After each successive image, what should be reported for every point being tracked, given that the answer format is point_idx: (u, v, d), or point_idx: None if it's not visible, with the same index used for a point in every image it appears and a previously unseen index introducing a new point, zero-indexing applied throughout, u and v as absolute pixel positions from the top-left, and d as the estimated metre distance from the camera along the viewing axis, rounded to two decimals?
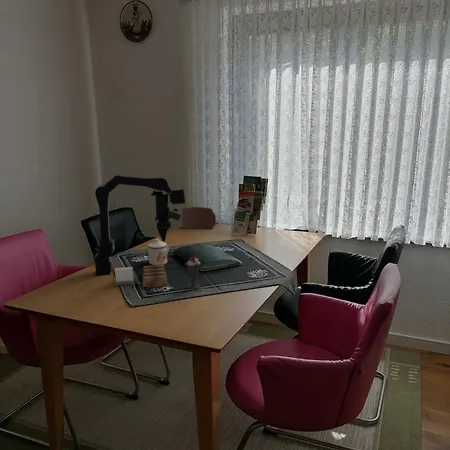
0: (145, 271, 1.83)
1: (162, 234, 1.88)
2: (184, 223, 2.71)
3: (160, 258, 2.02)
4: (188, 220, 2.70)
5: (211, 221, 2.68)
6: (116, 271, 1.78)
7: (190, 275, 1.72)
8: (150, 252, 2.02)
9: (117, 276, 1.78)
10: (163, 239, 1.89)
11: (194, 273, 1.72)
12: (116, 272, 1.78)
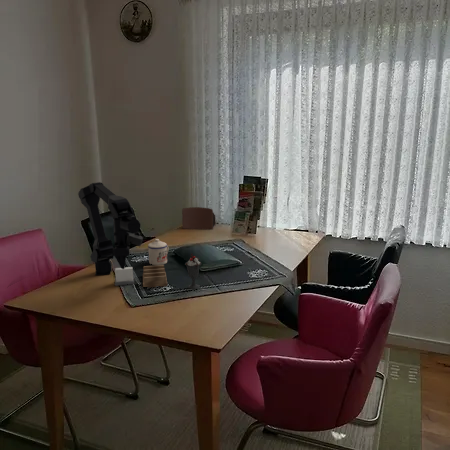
0: (145, 271, 1.83)
1: (121, 261, 1.73)
2: (184, 223, 2.70)
3: (160, 258, 2.02)
4: (188, 220, 2.70)
5: (211, 221, 2.67)
6: (116, 271, 1.78)
7: (190, 275, 1.72)
8: (150, 252, 2.02)
9: (117, 276, 1.78)
10: (122, 266, 1.74)
11: (194, 273, 1.72)
12: (116, 272, 1.78)
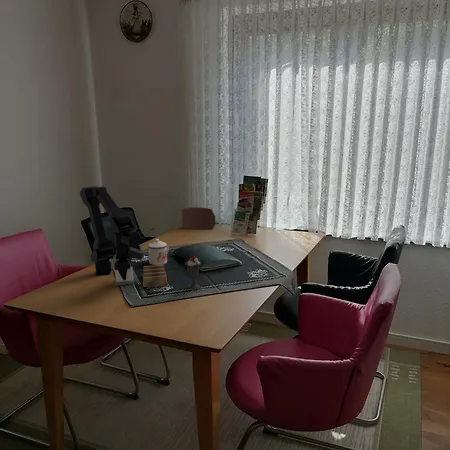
0: (145, 271, 1.83)
1: (122, 273, 1.77)
2: (184, 223, 2.70)
3: (160, 258, 2.02)
4: (188, 220, 2.69)
5: (211, 221, 2.67)
6: (116, 271, 1.78)
7: (190, 275, 1.72)
8: (150, 252, 2.02)
9: (117, 276, 1.78)
10: (123, 278, 1.78)
11: (194, 273, 1.72)
12: (116, 272, 1.78)
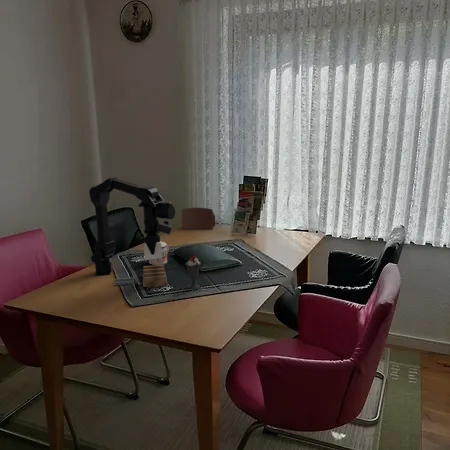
0: (145, 271, 1.83)
1: (151, 247, 1.77)
2: (184, 224, 2.69)
3: (160, 258, 2.02)
4: (188, 221, 2.68)
5: (211, 221, 2.67)
6: (145, 246, 1.77)
7: (190, 275, 1.72)
8: None
9: (146, 251, 1.78)
10: (152, 252, 1.78)
11: (194, 273, 1.72)
12: (145, 247, 1.77)
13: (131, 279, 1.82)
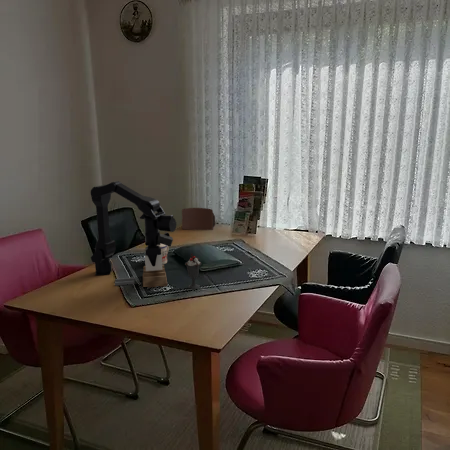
0: (145, 271, 1.83)
1: (152, 259, 1.78)
2: (184, 224, 2.69)
3: None
4: (188, 221, 2.68)
5: (211, 222, 2.66)
6: (146, 257, 1.79)
7: (190, 275, 1.72)
8: None
9: (147, 262, 1.79)
10: (153, 264, 1.79)
11: (194, 273, 1.72)
12: (146, 258, 1.79)
13: (131, 279, 1.82)
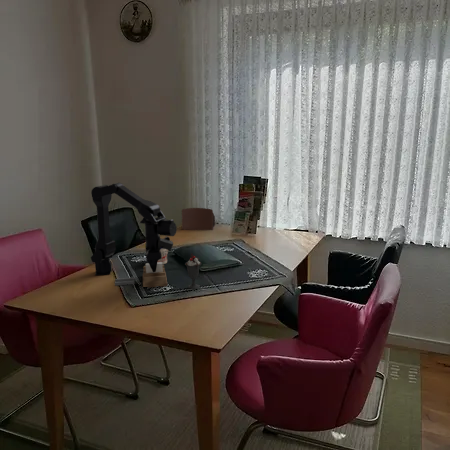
0: (145, 271, 1.83)
1: (152, 265, 1.77)
2: (184, 224, 2.68)
3: None
4: (188, 221, 2.68)
5: (211, 222, 2.66)
6: (146, 266, 1.80)
7: (190, 275, 1.72)
8: None
9: (147, 271, 1.80)
10: (153, 270, 1.78)
11: (194, 273, 1.72)
12: (146, 267, 1.80)
13: (131, 279, 1.82)
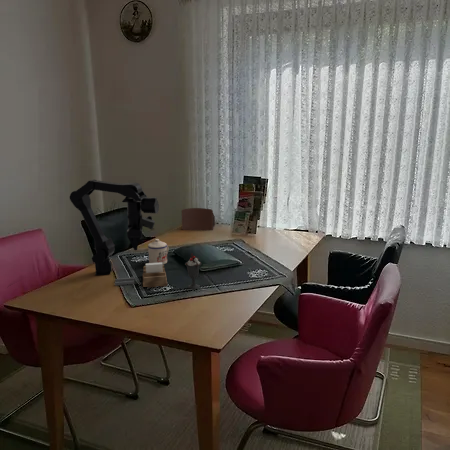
0: (145, 271, 1.83)
1: (134, 243, 1.81)
2: (183, 224, 2.68)
3: (160, 258, 2.02)
4: (188, 221, 2.67)
5: (211, 222, 2.66)
6: (146, 266, 1.80)
7: (190, 275, 1.72)
8: (150, 252, 2.02)
9: (147, 271, 1.80)
10: (135, 248, 1.82)
11: (194, 273, 1.72)
12: (146, 267, 1.80)
13: (131, 279, 1.82)
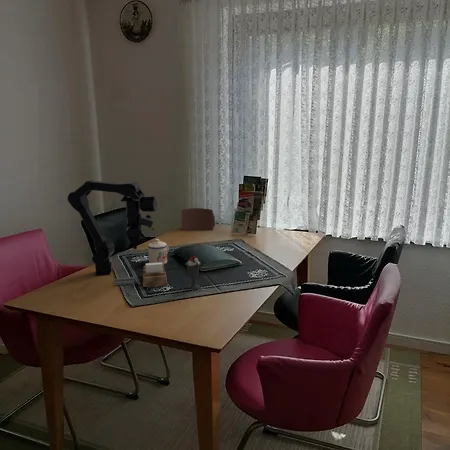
0: (145, 271, 1.83)
1: (133, 242, 1.82)
2: (183, 224, 2.67)
3: (160, 258, 2.02)
4: (188, 221, 2.67)
5: (211, 222, 2.65)
6: (146, 266, 1.80)
7: (190, 275, 1.72)
8: (150, 252, 2.02)
9: (147, 271, 1.80)
10: (134, 247, 1.83)
11: (194, 273, 1.72)
12: (146, 267, 1.80)
13: (131, 279, 1.82)
